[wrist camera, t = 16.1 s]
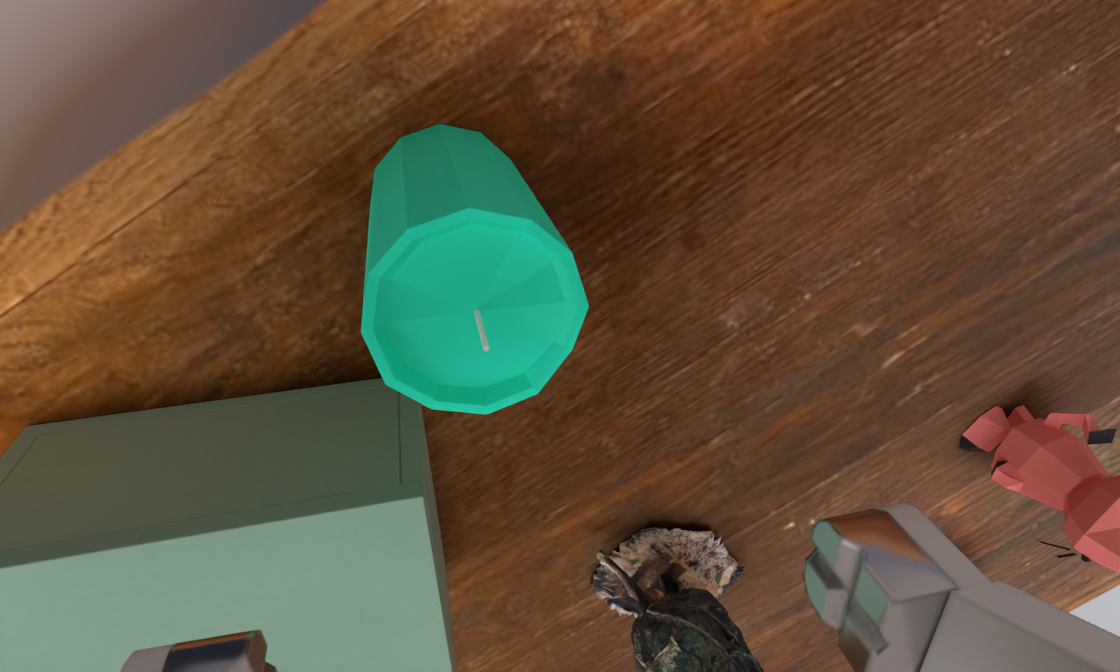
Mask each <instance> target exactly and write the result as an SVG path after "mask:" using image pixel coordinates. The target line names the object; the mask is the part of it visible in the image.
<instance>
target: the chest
mask: <svg viewBox="0 0 1120 672" xmlns="http://www.w3.org/2000/svg"><path fill="white" fill-rule="evenodd" d="M417 481H422V482H423V488H424V494H425V500H426V506H427V512H428V518H429V524H430V530H431V536H432V543H433V549H434V555H435V561H436V567H437V573H438V579H439V585H440V591H441V597H442V603H443V610H444V616H445V622H446V628H447V634H448V640H449V646H450V652H451V658H452V664H453V670H454V672H456V666H455V656H454V646H453V635H452V625H451V615H450V605H449V594H448V584H447V574H446V565H445V559H444V552H443V546H442V539H441V532H440V526H439V519H438V513H437V506H436V499H435V493H434V486H433V480H432V473H431V466H430V460H429V453H428V447H427V440H426V434H425V427H424V420H423V414H422V407H421V403H419V402H417V401H415V400H413V399H411V398H410V397H408V396H406V395H404V394H402V393H400V392H398V391H396V390H395V389H393V388H391V387H389V386H387V385H385V383H384V381H383V378H378V379H370V380H363V381H356V382H348V383H341V384H334V385H326V386H319V387H311V388H304V389H297V390H289V391H282V392H275V393H267V394H260V395H252V396H245V397H238V398H230V399H223V400H216V401H208V402H201V403H194V404H186V405H179V406H171V407H164V408H157V409H149V410H142V411H135V412H127V413H120V414H113V415H105V416H98V417H90V418H83V419H76V420H68V421H61V422H54V423H46V424H39V425H31V426H27V427H25V428H24V430H23V431H22V432H21V433H20V435H19V436H18V438H17V439H16V440H15V441H14V442H13V444H12V445H11V446H10V447H9V449H8V450H7V451H6V452H5V454H4V455H3V456H2V457H1V459H0V551H1V550H7V549H13V548H19V547H25V546H31V545H37V544H43V543H49V542H55V541H61V540H67V539H73V538H79V537H86V536H92V535H98V534H104V533H110V532H116V531H122V530H128V529H134V528H140V527H146V526H152V525H158V524H164V523H170V522H176V521H182V520H188V519H194V518H200V517H206V516H212V515H218V514H224V513H230V512H236V511H242V510H248V509H254V508H260V507H266V506H272V505H278V504H285V503H291V502H297V501H303V500H309V499H315V498H321V497H327V496H333V495H339V494H345V493H351V492H357V491H363V490H369V489H375V488H381V487H387V486H393V485H399V484H405V483H411V482H417Z"/></svg>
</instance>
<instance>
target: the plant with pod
mask: <svg viewBox="0 0 1120 672" xmlns="http://www.w3.org/2000/svg"><path fill="white" fill-rule="evenodd" d="M641 530H642V531H638V532H637V533H638V534H633V537H631V538H629V539H628V540H627V541H625V542H623V543H621V544H620V553H619V552H616V551H613V550H612V555H611V556H607V555H606V554H605V553H604V552H603V551H602V550H600V551H599V552H598V553H597V558H598V559H599V560H600V564H602V565H601V567H599V568H596V570H597V572H598V574H595V575H593V577H594V581H593V583H592V584H591V586H593V587H592V588H591V590H592V592H593V593H597V594H596V596H599V599H601V598H602V597H603V599H604V598H605V602H608V601H609V602H608V605H610V606H611V609H617V611H618V612H619V616H621V615H622V614H624V615H625V614H628V615H631V614H633V615H634V616H635V617H636V619H635V621H634V624H633V625H632V632H631V643H632V648H633V656H634V661H635V666H636V671H637V672H764V671H763V669H762V668H761V667H760V665H759V663H758V662H757V660H756V659H755V657H754V656H753V655H752V654H751V652H750V650H749V649H748V647H747V645H746V643H745V641H744V638H743V636H742V633H741V631H740V629H739V628H738V627H737V626H736V625H735V624H734V623H733V622H732V621H731V619H730V618H729V616H728V612H727V611H726V609H725V608H724V607H723V606H722V605H721V604H720V603H719V602H718V600H717V599H716V598H720V597H721V595H722V593H724V592H725V589H729V586H728V585H732V586H733V580H739V579H740V576H741V575H742V573H741V571H744V570H742V568H744V567H741V566H739V565H740V564H737V563H738V562H737V561H736V560H735V559H733V558H731V555H730V554H728V553H729V552H727V550H726V548H725V547H724V543H723V544H721V545H719V543H720V540H721V537H720V538H719V539H717V540H716V541H715V542H714V534H715V533H713V532H711V531H708V532H707V531H706V532H705V531H701V532H697V531H694V532H692V530H691V531H689V532H688V531H687V530H680V528H678V529H675V528H674V529H673V531H672V530H671V531H670V532H669V531H668V530H667V529H666V528H664V529H662V528H661V527H660V528H659V529H657V527H656V526H655V527H654V528H647V529H641ZM639 534H640V535H639ZM603 599H602V600H603Z"/></svg>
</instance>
